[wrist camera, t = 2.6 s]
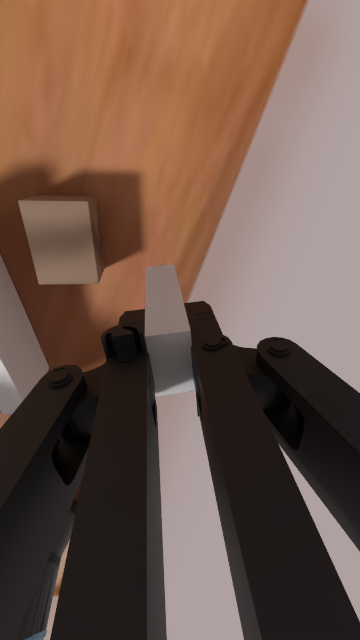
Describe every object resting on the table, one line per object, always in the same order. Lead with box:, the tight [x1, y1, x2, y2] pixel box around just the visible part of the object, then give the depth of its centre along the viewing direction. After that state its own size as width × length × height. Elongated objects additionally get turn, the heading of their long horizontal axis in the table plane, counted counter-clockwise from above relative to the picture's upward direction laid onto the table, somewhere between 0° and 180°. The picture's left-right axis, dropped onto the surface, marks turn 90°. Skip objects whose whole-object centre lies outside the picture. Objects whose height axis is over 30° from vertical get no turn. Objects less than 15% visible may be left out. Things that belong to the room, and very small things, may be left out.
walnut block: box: [18, 195, 105, 285], centre depth 28 cm, size 8×6×5 cm
